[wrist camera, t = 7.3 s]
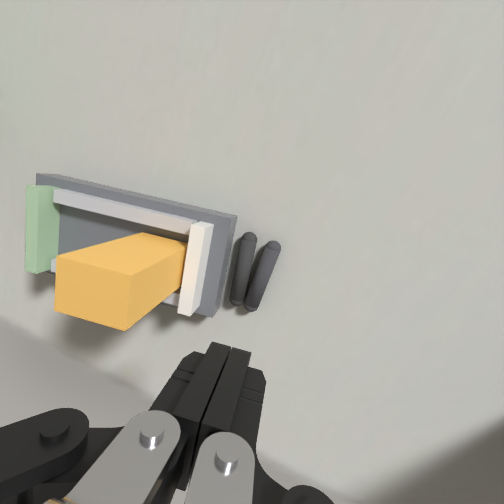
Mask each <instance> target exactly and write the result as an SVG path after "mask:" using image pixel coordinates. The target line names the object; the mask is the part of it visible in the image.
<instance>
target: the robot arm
mask: <svg viewBox="0 0 504 504" xmlns="http://www.w3.org/2000/svg"><path fill="white" fill-rule="evenodd" d="M250 357H251V352H248V351H244V350H241V349H237V348H234V347H232V350H231V347H230V346H226V345H223V344H219V343H216V342H212V343H211V344H210V346H209V348H208V350H207V352H206V353H205V354H202V353H199V352H195V351H194V352H192V353H191V354H189V355H187V356H186V357H184V358H183V359H182V361H181V362H180V364H179V365H178V367H177V369H176V370H175V371H174V373H173V374H172V376H171V378H170V379H169V380H168V382H167V383H166V385H165V386H164V388H163V389H162V391H161V392H160V394H159V395H158V397H157V398H156V400H155V401H154V403H153V404H152V406H151V407H150V409H149V410H148V411H147V412H143V413H141V414H138V415H136V416H135V417H134V418H132V419H131V420H130V421H129V422H128V423H127V424H126V425H125V426H123V427H117V428H89V420H88V418H87V416H86V415H85V414H84V413H83V412H81V411H79V410H77V409H72V408H60V409H54V410H51V411H48V412H45V413H42V414H39V415H36V416H33V417H30V418H27V419H24V420H21V421H18V422H15V423H12V424H10V425H7V426H4V427H1V428H0V504H170V502H171V500H172V498H173V494H174V492H175V490H176V488H177V489H180V490H183V491H185V490H186V487H187V484H188V482H189V479H190V482H189V487H188V491H187V495H186V498H185V502H184V504H334V503H333V502H332V501H331V500H330V499H329V498H328V496H326V495H325V494H324V493H323V492H321V491H320V490H318V489H316V488H314V487H311V486H307V485H298V486H295V487H292V488H291V489H289V490H287V489H285V488H284V487H282V486H281V485H280V484H278V483H277V482H275V481H274V480H273V479H272V478H270V477H269V476H268V475H267V474H266V472H265V471H264V470H263V468H262V467H261V465H260V463H259V461H258V458H257V454H256V441H257V435H258V429H259V423H260V417H261V410H262V404H263V398H264V392H265V386H266V380H265V378H264V375H263V372H262V371H261V370H258V369H254V368H251V367H248V365H249V361H250ZM190 476H191V477H190Z"/></svg>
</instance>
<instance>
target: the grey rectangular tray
mask: <svg viewBox="0 0 504 504" xmlns="http://www.w3.org/2000/svg"><path fill="white" fill-rule="evenodd" d="M236 220H237V216H235V215H230V214H226V213H222V212H217V211H213V210H209V209H204V208H200V207H196V206H191V205H187V204H183V203H178V202H174V201H170V200H165V199H161V198H157V197H152V196H148V195H144V194H139V193H135V192H131V191H126V190H122V189H118V188H113V187H109V186H105V185H100V184H96V183H92V182H87V181H83V180H79V179H74V178H70V177H66V176H61V175H57V174H40V173H36V185H26V234H25V271H28V272H31V273H35V274H38V273H41V272H44V271H45V272H49V273H52V274H56V256H57V255H61V254H65V253H68V252H72V251H76V250H79V249H83V248H87V247H90V246H94V245H98V244H101V243H105V242H109V241H112V240H116V239H120V238H123V237H127V236H131V235H134V234H138V233H142V232H144V233H148V234H152V235H156V236H160V237H164V238H168V239H172V240H176V241H180V242H184V243H188V247H187V254H186V260H185V267H184V273H183V279H182V286H180V287H179V288H178V289H177V290H176V291H174V292H173V293H172V294H171V295H169V296H168V297H167V298H166V299H164V300H163V301H162V302H161V304H165V305H169V306H172V307H176V308H178V311H177V313H179V314H183V315H187V316H191V315H192V314H193V313H198V314H201V315H205V316H209V317H212V318H213V316H214V315H215V313H216V312H217V310H218V309H219V307H220V302H221V297H222V292H223V287H224V282H225V277H226V272H227V266H228V261H229V256H230V251H231V246H232V241H233V236H234V230H235V225H236Z"/></svg>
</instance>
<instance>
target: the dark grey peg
mask: <svg viewBox="0 0 504 504" xmlns="http://www.w3.org/2000/svg"><path fill="white" fill-rule="evenodd" d="M256 243H257V237H256V235H255V234H254V233H252V232H247V233H245V234H244V235H243V236H242V239H241V244H240V249H239V254H238V259H237V264H236V269H235V274H234V279H233V284H232V289H231V293H230V302H231V303H232V304H233V305H235V306H239V305H241V304H242V303H243V302H244V298H245V294H246V289H247V284H248V280H249V275H250V271H251V266H252V261H253V257H254V252H255V247H256Z"/></svg>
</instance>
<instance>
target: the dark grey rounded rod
mask: <svg viewBox="0 0 504 504" xmlns="http://www.w3.org/2000/svg"><path fill="white" fill-rule="evenodd" d="M280 251H281V246H280V244H279V243H278V242H277V241H269V242H268V243H267V244H266V246H265V249H264V252H263V254H262V257H261V259H260V262H259V265H258V267H257V270H256V273H255V275H254V278H253V280H252V283H251V286H250V288H249V291H248V294H247V296H246V299H245V301H244V307H245V309H246V310H247V311H250V312H253V311H255V310H257V308H258V306H259V304H260V301H261V299H262V296H263V294H264V291H265V289H266V286H267V284H268V281H269V278H270V276H271V273H272V271H273V268H274V266H275V263H276V261H277V258H278V256H279V253H280Z"/></svg>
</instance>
